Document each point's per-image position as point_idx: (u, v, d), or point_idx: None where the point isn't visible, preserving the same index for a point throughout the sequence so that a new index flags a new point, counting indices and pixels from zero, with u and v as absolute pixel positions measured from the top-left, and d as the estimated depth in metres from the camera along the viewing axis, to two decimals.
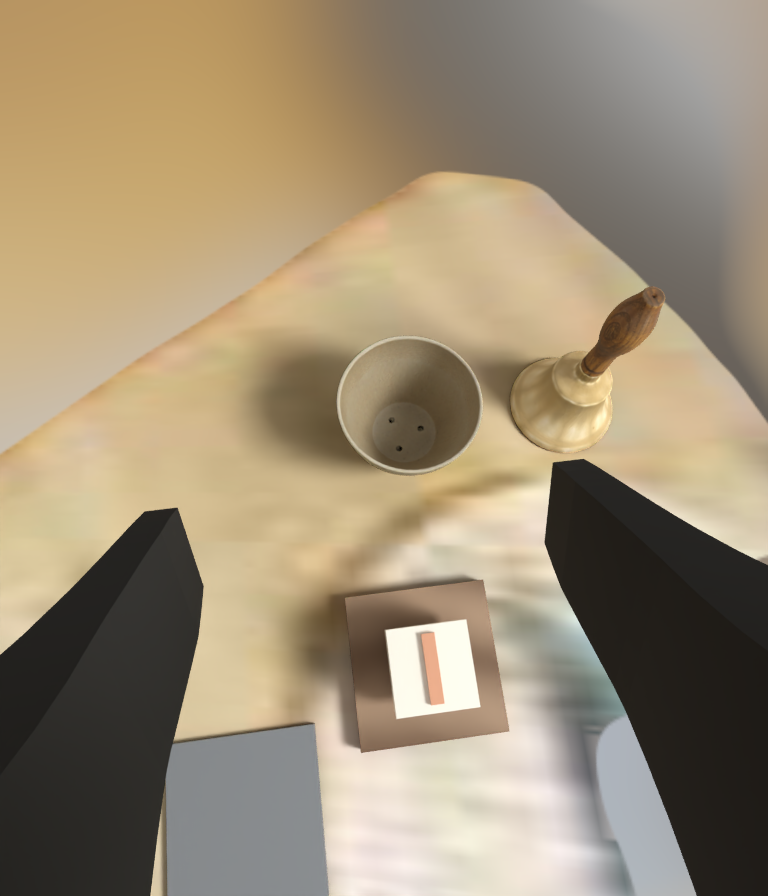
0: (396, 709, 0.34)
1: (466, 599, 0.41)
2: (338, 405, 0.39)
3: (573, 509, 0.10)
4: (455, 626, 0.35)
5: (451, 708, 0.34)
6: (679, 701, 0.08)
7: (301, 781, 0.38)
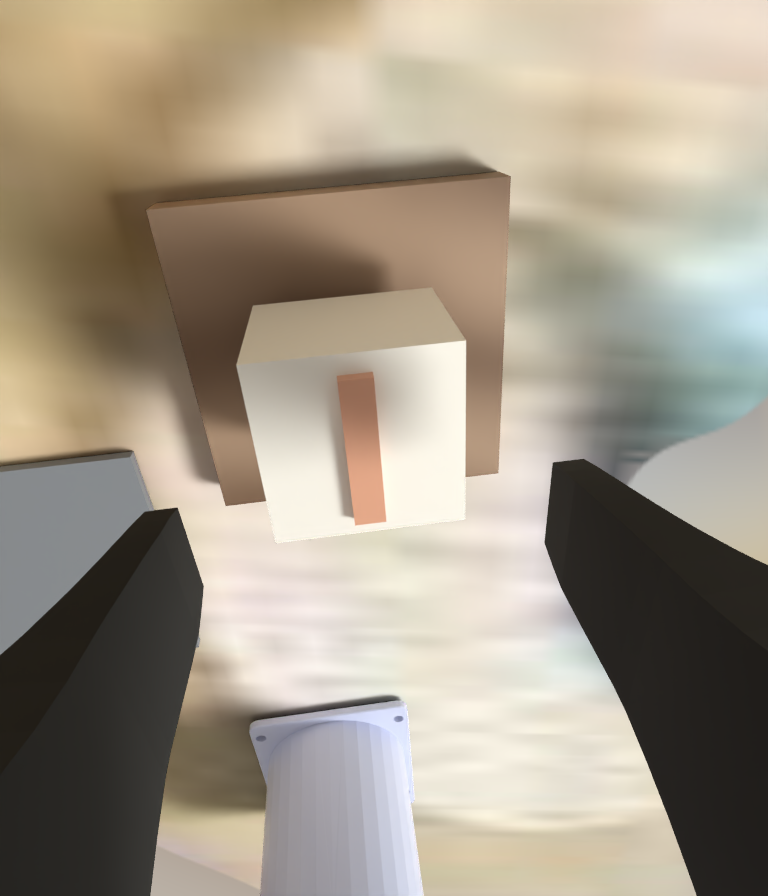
0: (274, 526, 0.15)
1: (460, 227, 0.17)
2: None
3: (573, 509, 0.10)
4: (433, 357, 0.13)
5: (400, 523, 0.15)
6: (679, 701, 0.08)
7: None
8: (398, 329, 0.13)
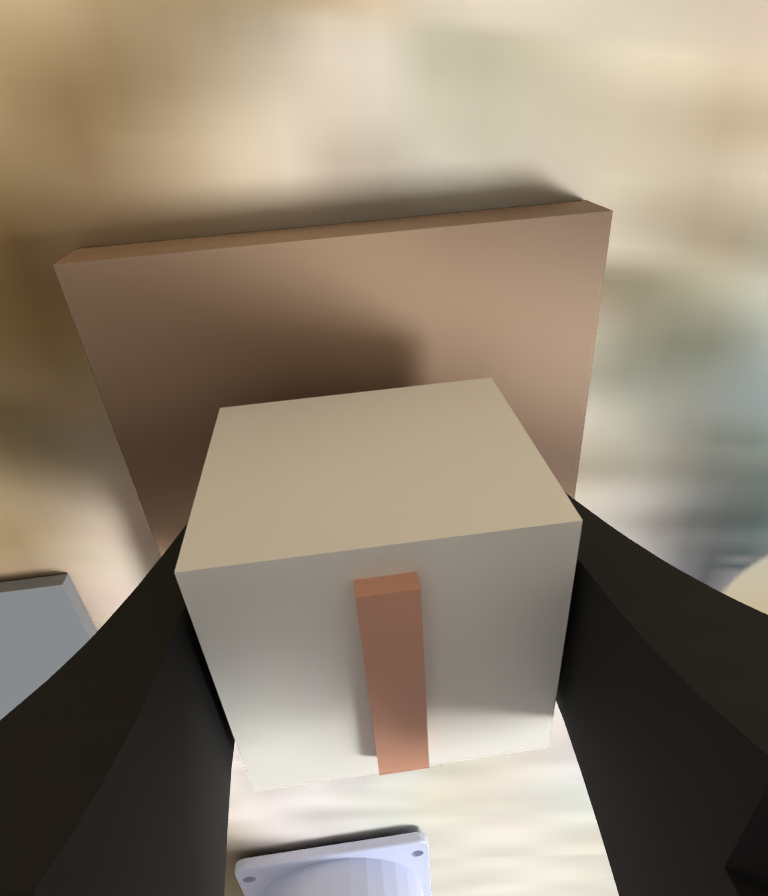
0: (251, 772, 0.09)
1: (532, 284, 0.11)
2: None
3: None
4: (523, 546, 0.07)
5: (449, 758, 0.10)
6: (604, 712, 0.08)
7: None
8: (456, 481, 0.08)
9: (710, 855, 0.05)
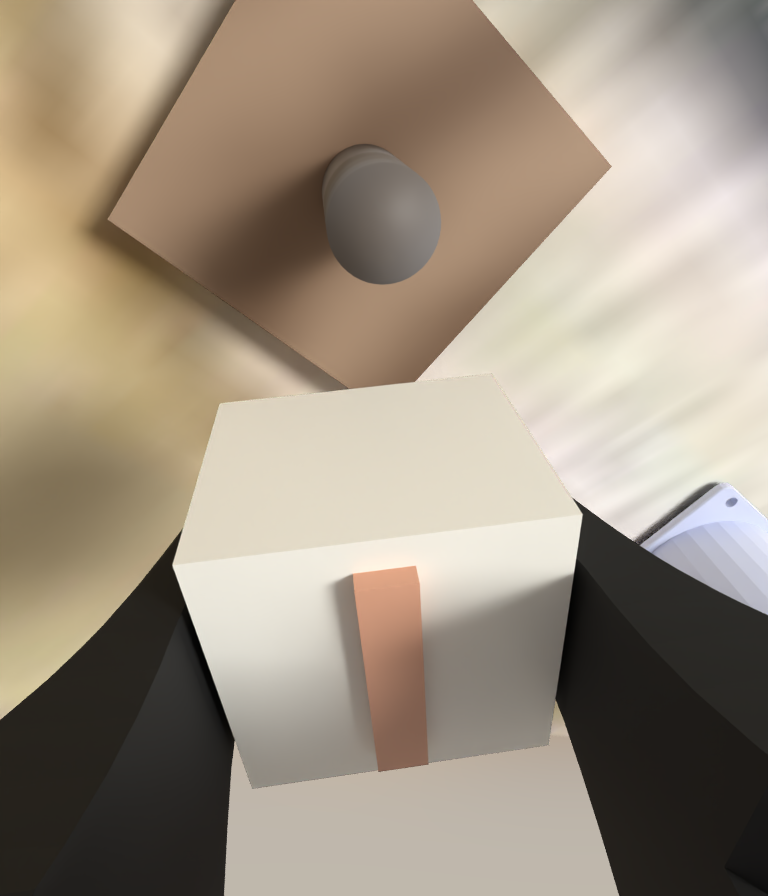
0: (250, 768, 0.09)
1: None
2: None
3: None
4: (522, 540, 0.07)
5: (448, 755, 0.10)
6: (604, 712, 0.08)
7: None
8: (455, 475, 0.08)
9: (710, 855, 0.05)
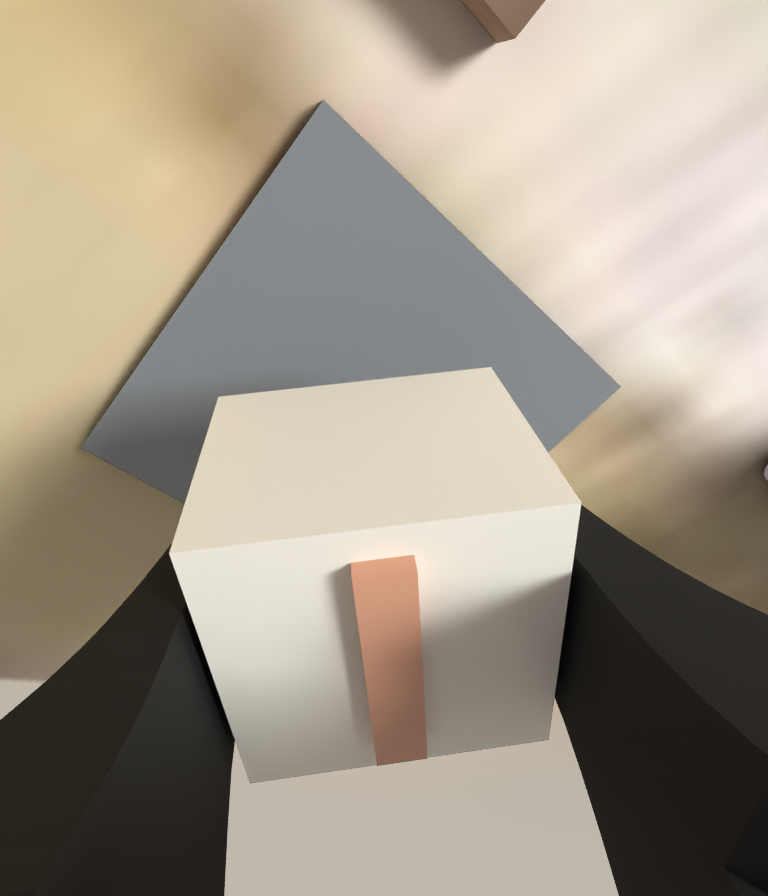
0: (248, 762, 0.09)
1: None
2: None
3: None
4: (521, 529, 0.07)
5: (447, 749, 0.10)
6: (603, 712, 0.08)
7: (409, 257, 0.13)
8: (454, 465, 0.08)
9: (709, 855, 0.05)
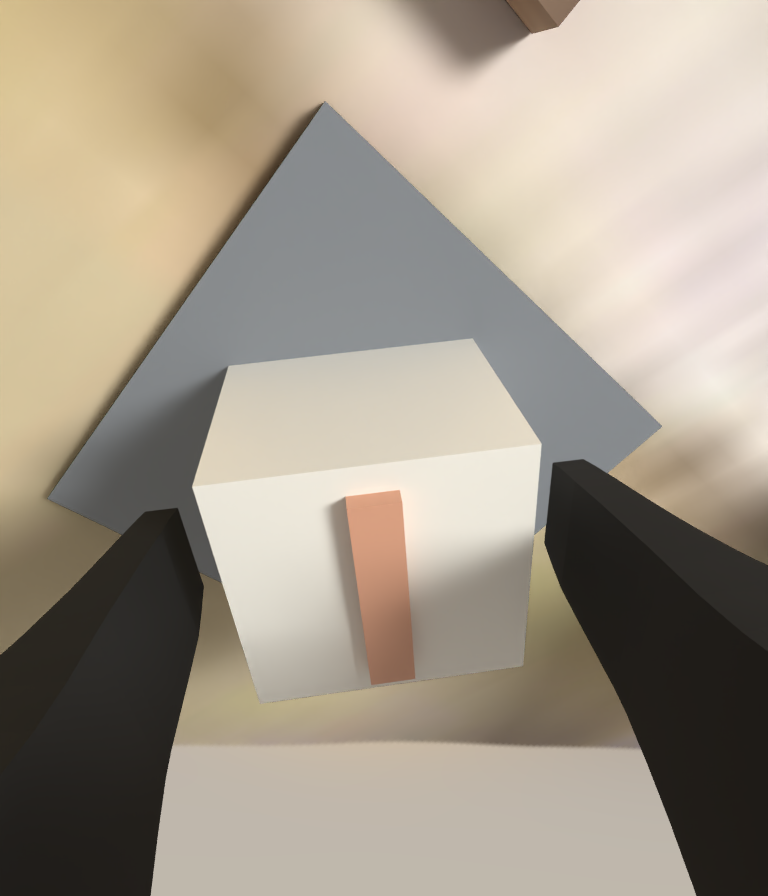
0: (258, 684, 0.10)
1: None
2: None
3: (573, 509, 0.10)
4: (491, 468, 0.08)
5: (433, 674, 0.11)
6: (679, 701, 0.08)
7: (425, 284, 0.11)
8: (435, 417, 0.09)
9: None
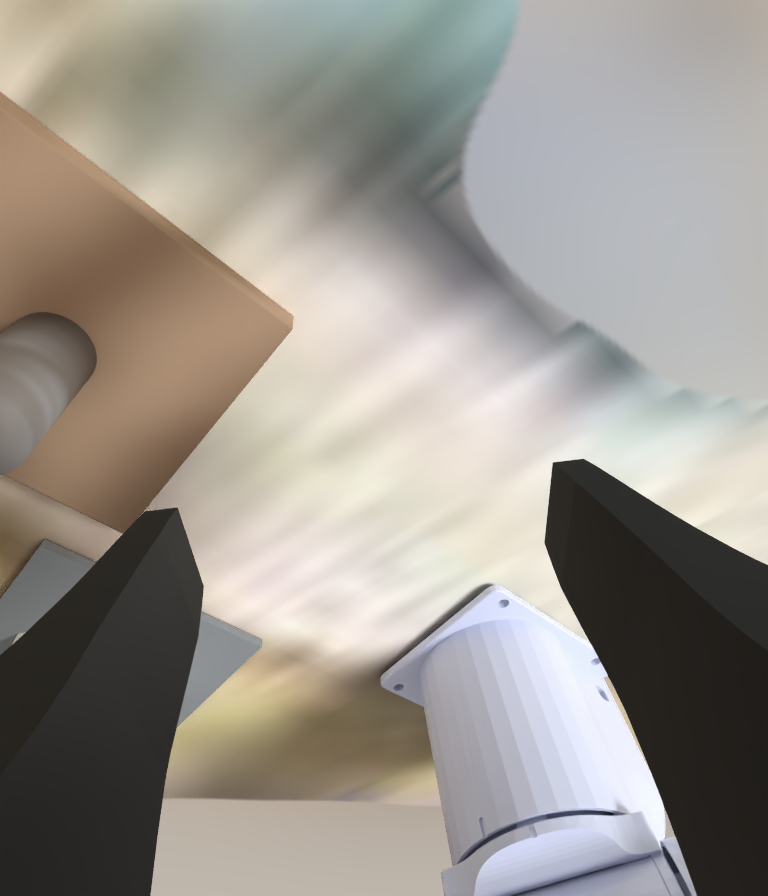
0: None
1: None
2: None
3: (573, 509, 0.10)
4: None
5: None
6: (679, 701, 0.08)
7: None
8: None
9: None
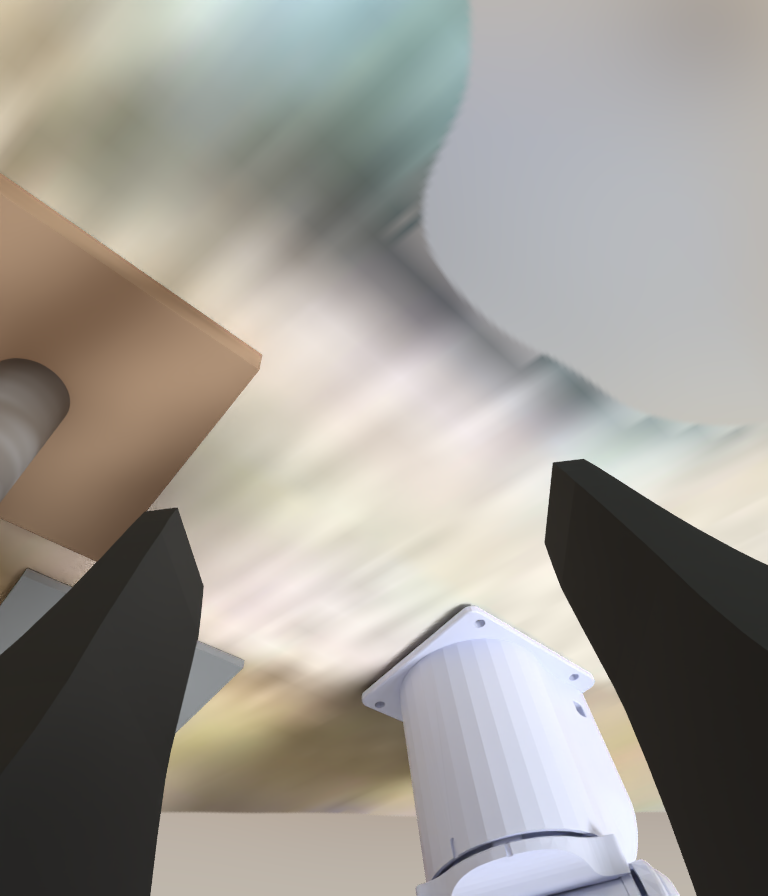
0: None
1: None
2: None
3: (573, 509, 0.10)
4: None
5: None
6: (679, 701, 0.08)
7: None
8: None
9: None
